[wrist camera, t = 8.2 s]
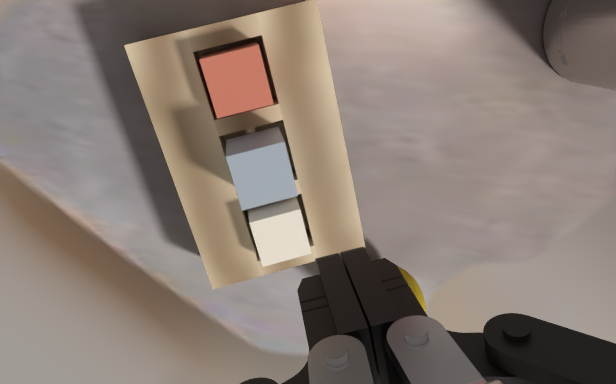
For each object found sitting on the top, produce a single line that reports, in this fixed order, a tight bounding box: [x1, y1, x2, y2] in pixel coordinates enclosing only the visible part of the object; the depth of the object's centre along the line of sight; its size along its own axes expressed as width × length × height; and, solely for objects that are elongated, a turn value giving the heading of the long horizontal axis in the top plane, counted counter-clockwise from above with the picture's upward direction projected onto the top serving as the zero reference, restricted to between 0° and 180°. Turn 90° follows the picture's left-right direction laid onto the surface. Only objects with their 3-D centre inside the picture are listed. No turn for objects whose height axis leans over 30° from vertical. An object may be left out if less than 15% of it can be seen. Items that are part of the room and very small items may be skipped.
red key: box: [199, 41, 274, 118], centre depth 29 cm, size 4×4×4 cm
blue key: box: [226, 127, 298, 211], centre depth 29 cm, size 4×4×4 cm
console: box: [124, 0, 365, 289], centre depth 33 cm, size 12×18×4 cm, turn 13°
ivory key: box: [248, 196, 312, 267], centre depth 34 cm, size 4×4×4 cm
